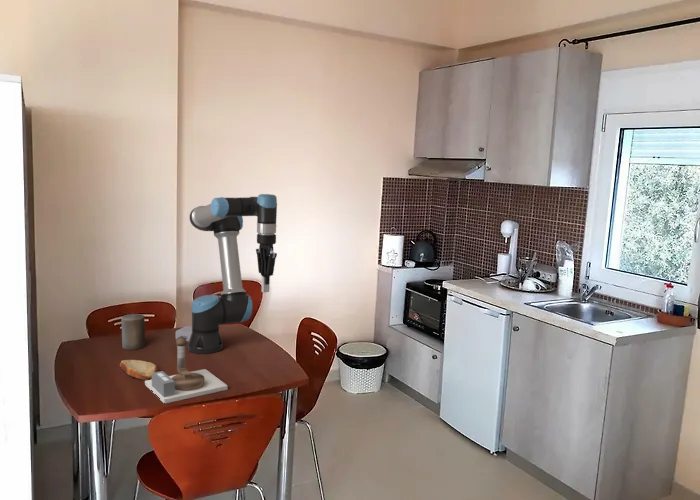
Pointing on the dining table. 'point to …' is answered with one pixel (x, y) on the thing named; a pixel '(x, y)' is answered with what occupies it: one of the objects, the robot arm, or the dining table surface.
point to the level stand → (168, 393)
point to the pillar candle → (133, 331)
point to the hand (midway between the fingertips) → (265, 291)
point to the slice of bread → (139, 368)
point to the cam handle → (185, 370)
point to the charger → (184, 332)
